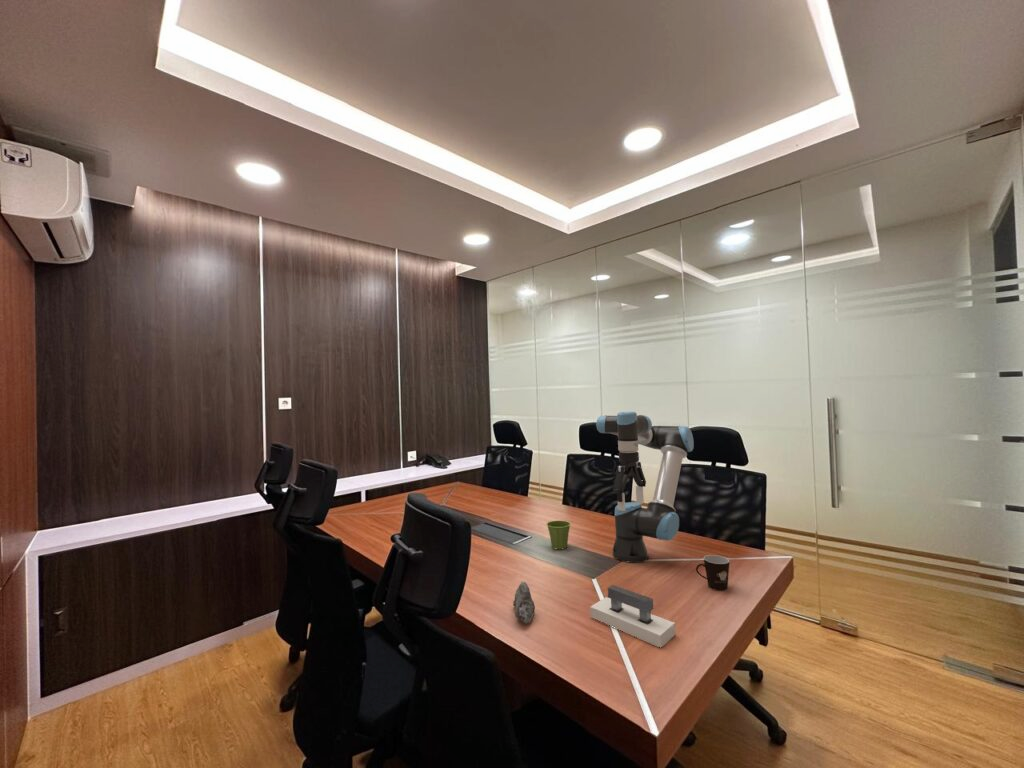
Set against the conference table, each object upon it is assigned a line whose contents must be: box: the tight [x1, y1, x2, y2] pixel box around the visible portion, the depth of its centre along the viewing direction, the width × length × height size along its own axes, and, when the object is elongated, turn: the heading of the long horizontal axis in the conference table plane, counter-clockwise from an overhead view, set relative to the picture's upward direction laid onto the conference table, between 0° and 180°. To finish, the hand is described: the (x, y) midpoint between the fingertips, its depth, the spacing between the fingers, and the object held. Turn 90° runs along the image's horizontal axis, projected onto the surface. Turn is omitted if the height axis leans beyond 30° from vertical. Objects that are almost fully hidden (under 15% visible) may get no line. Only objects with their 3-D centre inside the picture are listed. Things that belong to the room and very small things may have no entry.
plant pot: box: [546, 520, 572, 550], centre depth 199 cm, size 12×12×11 cm
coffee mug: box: [695, 554, 730, 592], centre depth 153 cm, size 12×9×10 cm
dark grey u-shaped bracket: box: [607, 584, 654, 625], centre depth 128 cm, size 14×3×10 cm, turn 43°
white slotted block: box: [589, 596, 676, 649], centre depth 128 cm, size 24×9×4 cm, turn 43°
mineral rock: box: [512, 581, 536, 624], centre depth 137 cm, size 13×11×10 cm
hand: (631, 506), depth 159 cm, fingers open, 13 cm apart
